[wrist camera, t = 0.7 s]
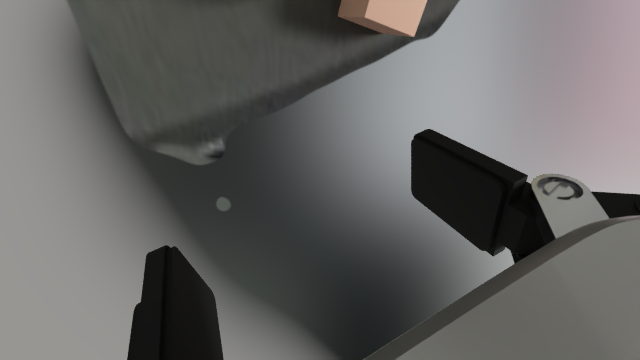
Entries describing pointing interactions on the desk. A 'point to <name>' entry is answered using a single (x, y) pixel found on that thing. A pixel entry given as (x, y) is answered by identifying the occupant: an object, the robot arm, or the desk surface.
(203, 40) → the desk surface
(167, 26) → the desk surface
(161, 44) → the desk surface
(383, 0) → the terracotta brick
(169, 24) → the desk surface
